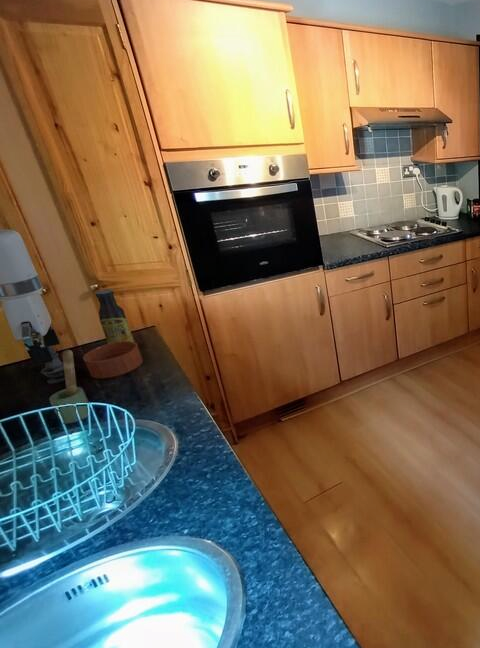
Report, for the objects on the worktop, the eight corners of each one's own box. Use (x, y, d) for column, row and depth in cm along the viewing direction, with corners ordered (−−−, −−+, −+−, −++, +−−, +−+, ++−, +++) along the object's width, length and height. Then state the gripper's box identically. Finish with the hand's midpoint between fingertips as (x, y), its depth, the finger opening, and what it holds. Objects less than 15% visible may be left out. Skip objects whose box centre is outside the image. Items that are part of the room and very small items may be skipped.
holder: (59, 428, 109) (47, 404, 106) (62, 415, 113) (51, 392, 111) (91, 419, 112) (81, 395, 109) (94, 406, 117) (83, 384, 114)
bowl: (88, 384, 126) (80, 366, 123) (92, 366, 135) (85, 348, 132) (143, 371, 132) (136, 353, 130) (143, 354, 141) (137, 337, 139)
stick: (69, 418, 111) (61, 352, 106) (70, 414, 113) (62, 349, 107) (79, 417, 112) (71, 351, 107) (80, 413, 114) (72, 348, 109)
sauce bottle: (108, 355, 141) (84, 296, 132) (114, 346, 146) (92, 289, 138) (133, 351, 143) (111, 293, 135) (139, 342, 148) (118, 286, 140)
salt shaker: (73, 370, 132) (56, 334, 128) (74, 378, 129) (57, 341, 124) (45, 378, 129) (27, 341, 124) (46, 386, 125) (27, 348, 120)
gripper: (2, 278, 103) (32, 343, 110) (-19, 303, 91) (17, 375, 98) (47, 272, 107) (73, 335, 114) (33, 295, 95) (63, 365, 102)
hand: (47, 353), depth 106 cm, fingers open, 9 cm apart
